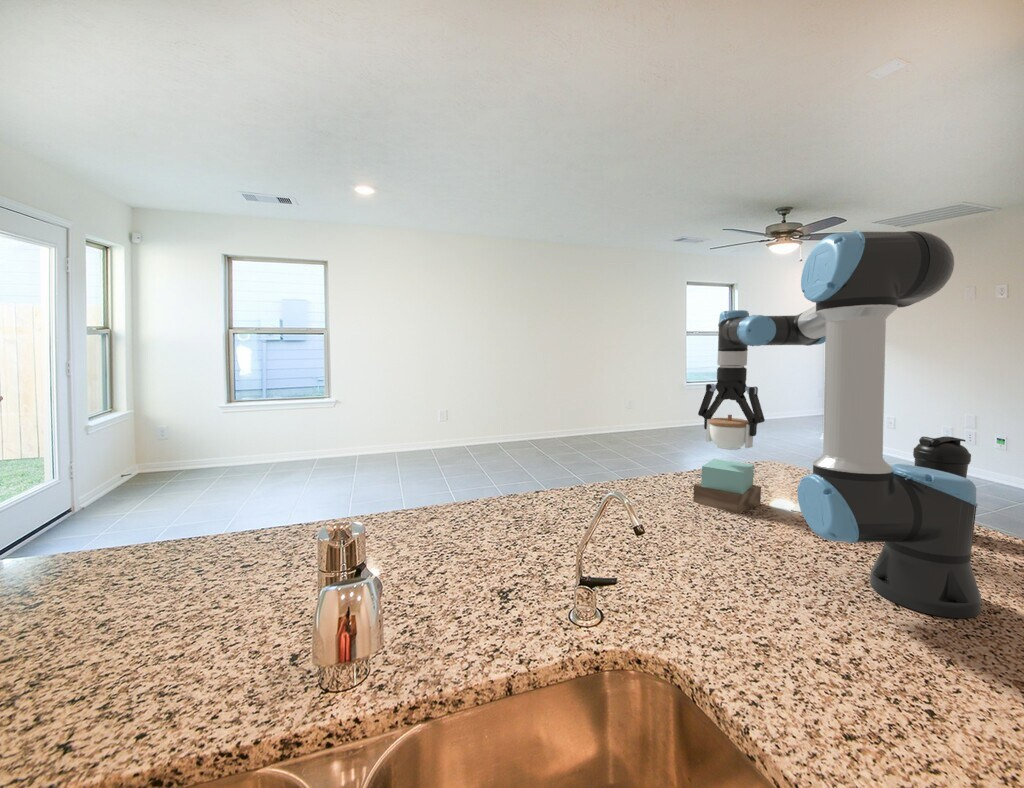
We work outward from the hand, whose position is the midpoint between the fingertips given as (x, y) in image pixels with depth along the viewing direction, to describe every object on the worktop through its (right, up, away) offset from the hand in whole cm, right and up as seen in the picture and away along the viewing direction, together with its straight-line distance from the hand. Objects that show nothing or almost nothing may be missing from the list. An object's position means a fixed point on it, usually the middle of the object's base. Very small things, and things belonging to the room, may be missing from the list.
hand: (728, 444), depth 135 cm
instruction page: (+23, -17, -3) cm, 29 cm away
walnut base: (0, -17, +2) cm, 17 cm away
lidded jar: (0, -1, 0) cm, 1 cm away
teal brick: (0, -12, +1) cm, 12 cm away
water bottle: (+41, -19, -20) cm, 49 cm away
